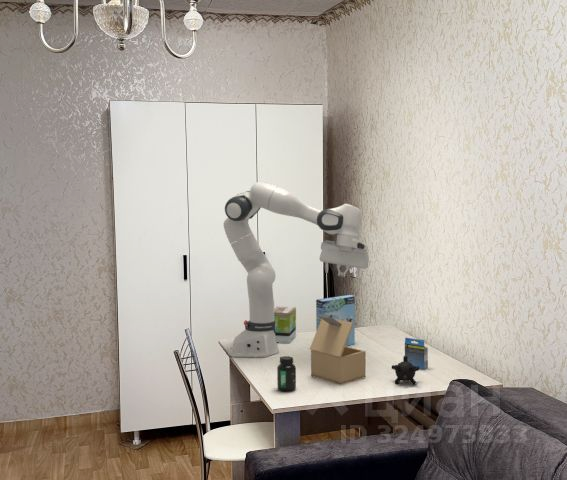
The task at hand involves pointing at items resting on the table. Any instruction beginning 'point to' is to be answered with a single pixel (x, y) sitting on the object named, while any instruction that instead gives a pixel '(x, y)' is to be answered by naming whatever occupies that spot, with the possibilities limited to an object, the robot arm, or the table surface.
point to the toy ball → (405, 371)
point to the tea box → (285, 324)
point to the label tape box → (416, 353)
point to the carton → (339, 365)
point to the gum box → (338, 311)
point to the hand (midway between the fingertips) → (341, 276)
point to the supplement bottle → (286, 374)
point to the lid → (331, 335)
